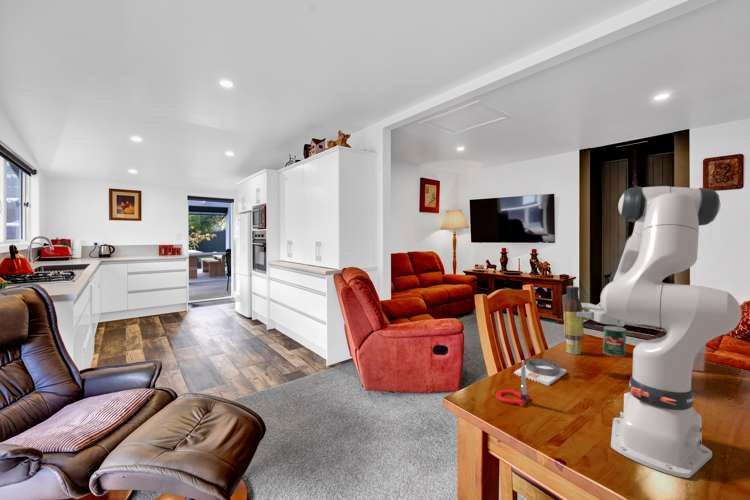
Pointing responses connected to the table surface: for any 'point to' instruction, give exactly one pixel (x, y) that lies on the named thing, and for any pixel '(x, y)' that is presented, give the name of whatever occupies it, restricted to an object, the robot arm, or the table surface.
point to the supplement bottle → (573, 346)
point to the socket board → (542, 377)
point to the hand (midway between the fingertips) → (570, 311)
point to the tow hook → (522, 395)
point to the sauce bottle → (573, 315)
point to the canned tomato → (614, 340)
